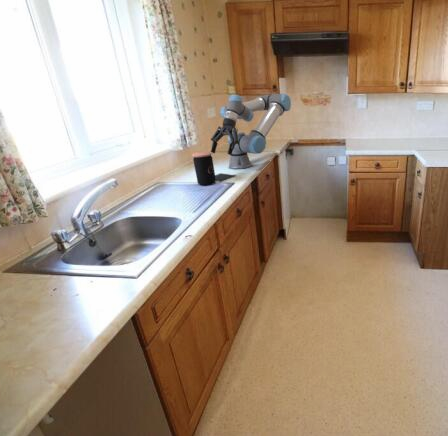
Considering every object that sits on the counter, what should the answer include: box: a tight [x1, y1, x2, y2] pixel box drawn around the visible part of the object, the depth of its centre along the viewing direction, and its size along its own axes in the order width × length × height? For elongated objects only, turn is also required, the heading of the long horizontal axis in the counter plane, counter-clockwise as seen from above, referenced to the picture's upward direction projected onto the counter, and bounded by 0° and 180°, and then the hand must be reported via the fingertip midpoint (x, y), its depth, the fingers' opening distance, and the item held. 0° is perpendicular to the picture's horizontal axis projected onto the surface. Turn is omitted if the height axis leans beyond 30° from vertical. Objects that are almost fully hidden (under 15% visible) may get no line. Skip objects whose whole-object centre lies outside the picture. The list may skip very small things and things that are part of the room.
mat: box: [215, 173, 236, 182], centre depth 205 cm, size 13×13×1 cm
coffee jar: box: [192, 151, 217, 187], centre depth 191 cm, size 11×11×18 cm
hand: (220, 153), depth 193 cm, fingers open, 13 cm apart
